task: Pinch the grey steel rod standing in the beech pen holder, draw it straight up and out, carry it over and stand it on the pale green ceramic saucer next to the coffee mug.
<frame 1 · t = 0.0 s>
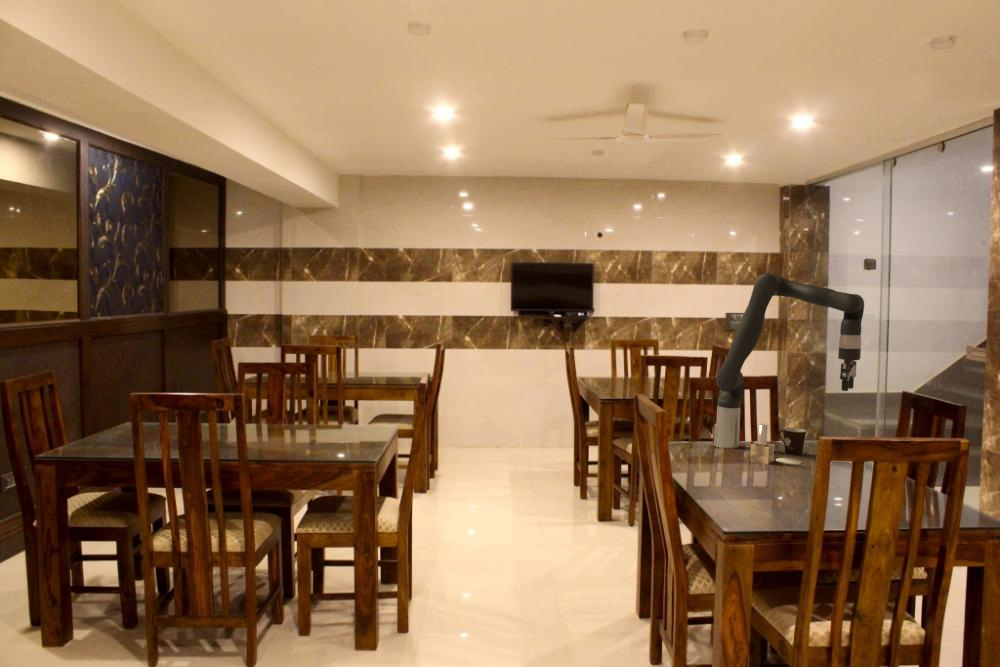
hand: (847, 389, 271), 29 cm above the table, tool pointing down, fingers open, 8 cm apart
rod: (761, 461, 275), point 1 cm above the table, touching holder
saucer: (788, 463, 275), on the table
coffee mug: (791, 453, 293), on the table
holder: (761, 463, 275), on the table
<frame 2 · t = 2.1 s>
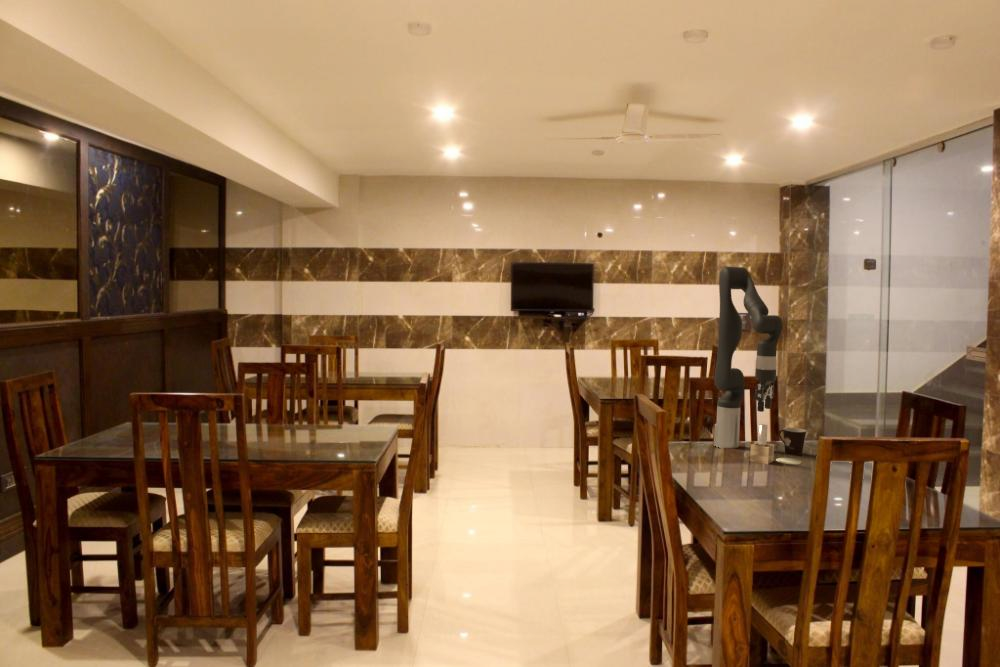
hand: (764, 410, 273), 21 cm above the table, tool pointing down, fingers open, 8 cm apart
nothing on the table moved.
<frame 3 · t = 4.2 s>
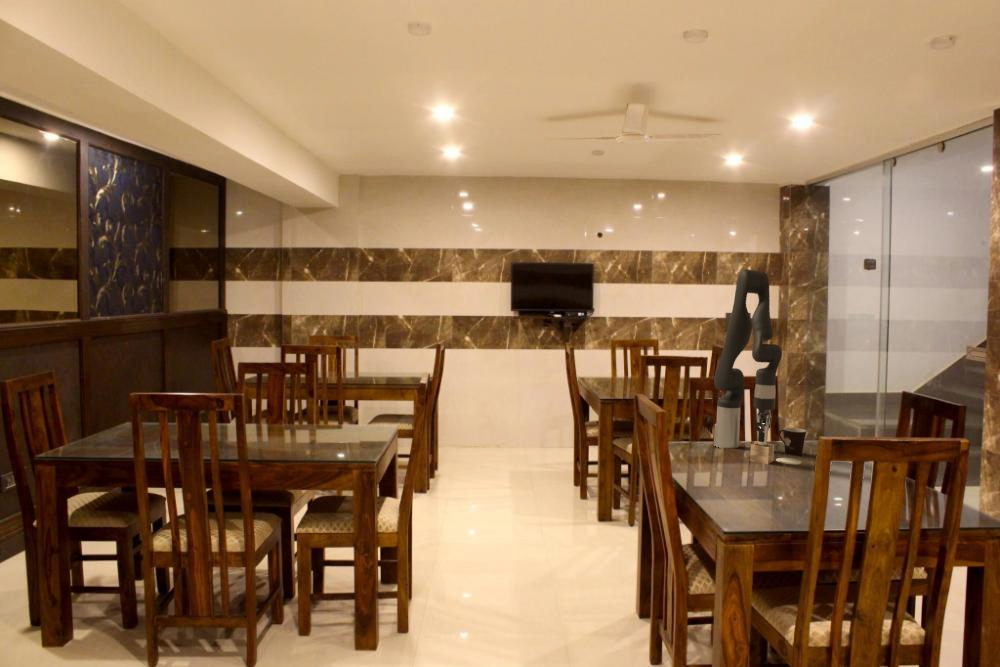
hand: (762, 440, 274), 9 cm above the table, tool pointing down, fingers closed on rod, 3 cm apart
rod: (761, 461, 275), point 1 cm above the table, touching gripper, holder
everything else where it was.
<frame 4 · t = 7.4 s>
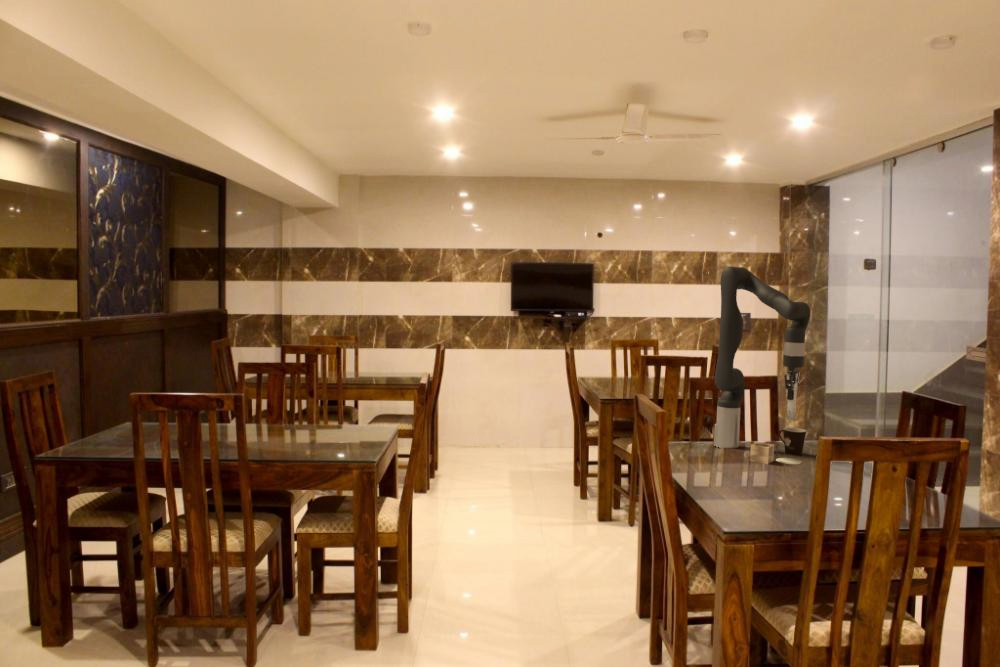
hand: (791, 399, 274), 25 cm above the table, tool pointing down, fingers closed on rod, 3 cm apart
rod: (790, 419, 274), point 17 cm above the table, touching gripper
everything else where it was.
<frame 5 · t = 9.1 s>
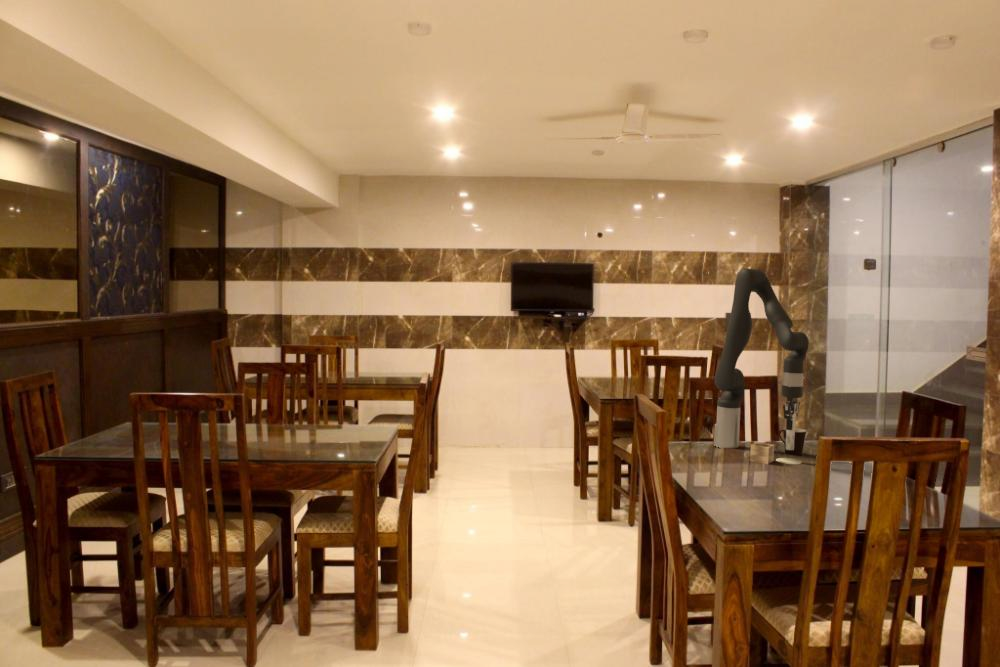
hand: (790, 428, 275), 13 cm above the table, tool pointing down, fingers closed on rod, 3 cm apart
rod: (789, 449, 275), point 6 cm above the table, touching gripper
everything else where it was.
when the fingers open (10 cm above the table, at t = 10.6 s): rod stays where it is, resting on saucer.
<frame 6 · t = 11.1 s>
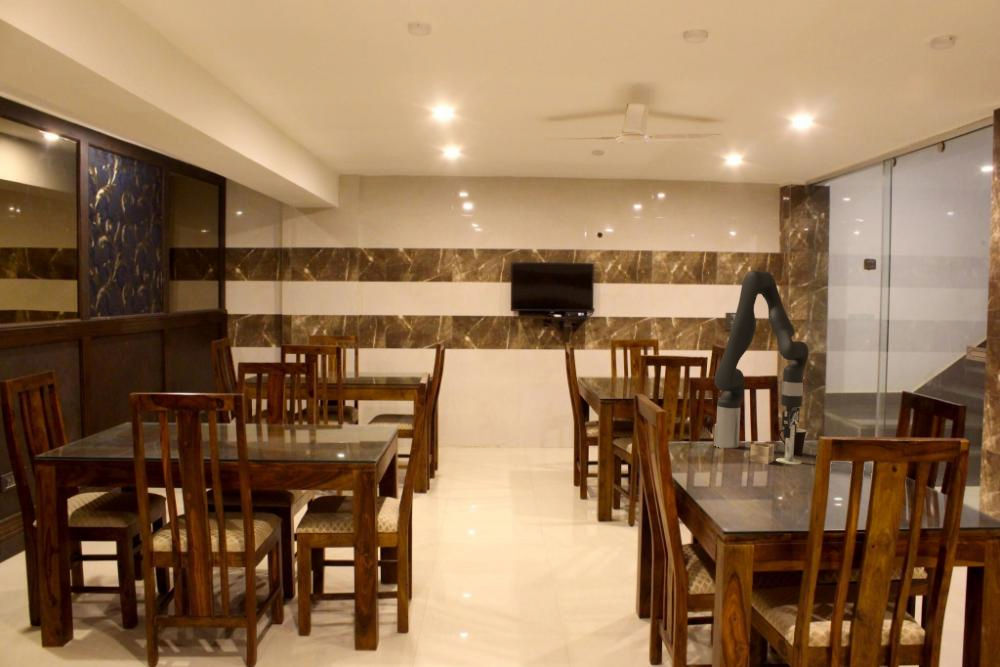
hand: (789, 436, 275), 11 cm above the table, tool pointing down, fingers open, 7 cm apart
rod: (788, 460, 275), point 1 cm above the table, touching saucer
everything else where it was.
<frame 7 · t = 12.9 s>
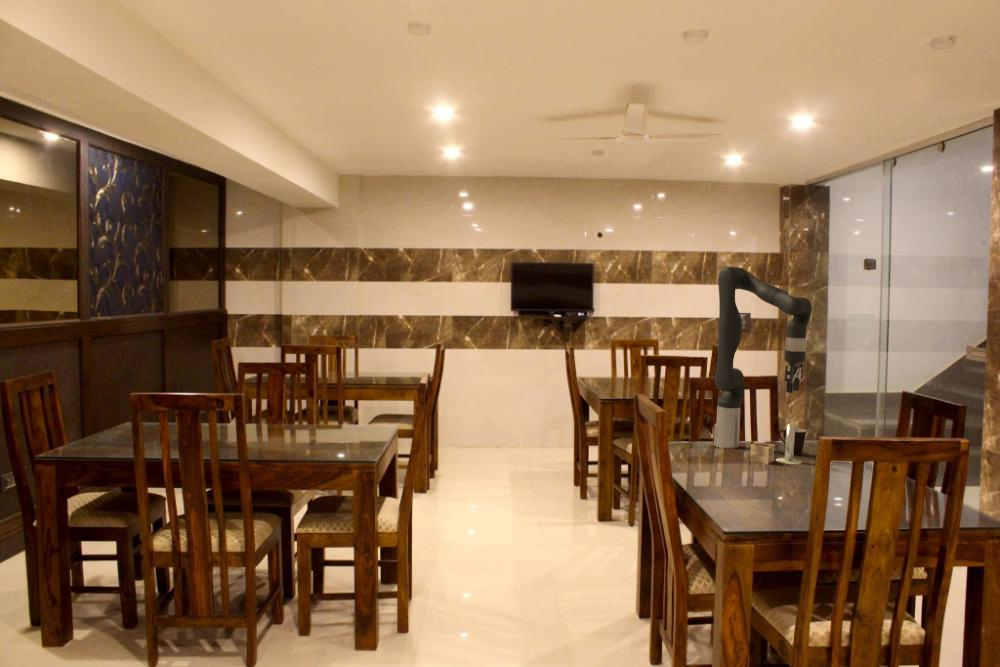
hand: (792, 391, 275), 28 cm above the table, tool pointing down, fingers open, 8 cm apart
nothing on the table moved.
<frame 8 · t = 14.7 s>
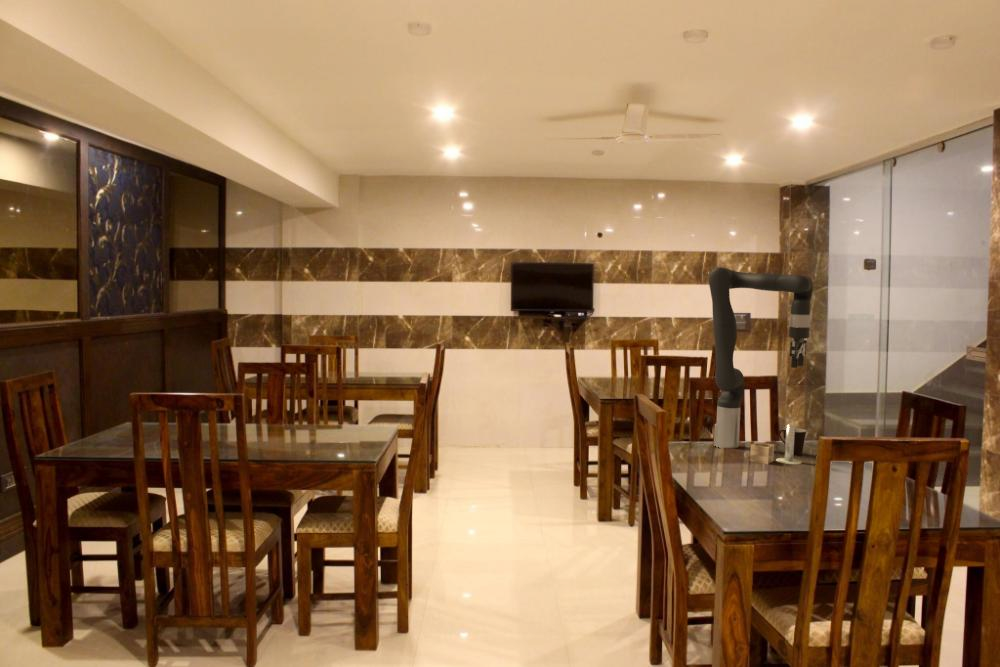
hand: (797, 366, 284), 36 cm above the table, tool pointing down, fingers open, 8 cm apart
nothing on the table moved.
at the end: rod inside the target area on the saucer (0.1 cm from its centre), point 1.0 cm above the saucer's base; rod tilted 0°; the gripper is holding nothing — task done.
